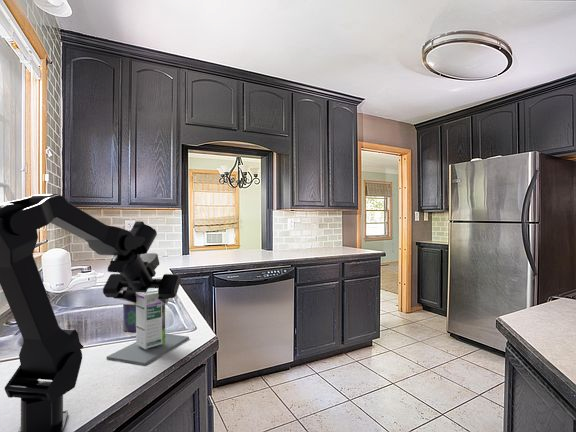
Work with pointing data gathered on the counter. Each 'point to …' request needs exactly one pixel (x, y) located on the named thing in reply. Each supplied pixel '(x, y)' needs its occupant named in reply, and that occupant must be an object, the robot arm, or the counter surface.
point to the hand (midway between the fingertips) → (152, 302)
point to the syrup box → (149, 319)
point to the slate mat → (146, 351)
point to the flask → (129, 317)
